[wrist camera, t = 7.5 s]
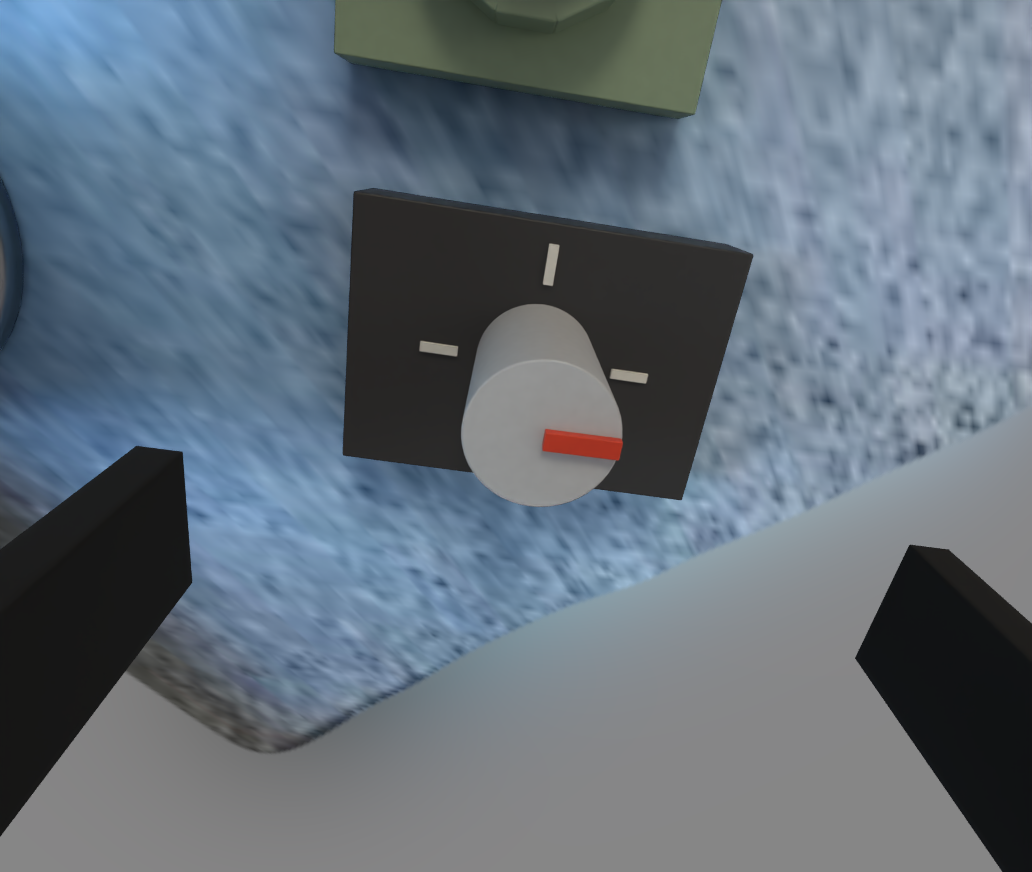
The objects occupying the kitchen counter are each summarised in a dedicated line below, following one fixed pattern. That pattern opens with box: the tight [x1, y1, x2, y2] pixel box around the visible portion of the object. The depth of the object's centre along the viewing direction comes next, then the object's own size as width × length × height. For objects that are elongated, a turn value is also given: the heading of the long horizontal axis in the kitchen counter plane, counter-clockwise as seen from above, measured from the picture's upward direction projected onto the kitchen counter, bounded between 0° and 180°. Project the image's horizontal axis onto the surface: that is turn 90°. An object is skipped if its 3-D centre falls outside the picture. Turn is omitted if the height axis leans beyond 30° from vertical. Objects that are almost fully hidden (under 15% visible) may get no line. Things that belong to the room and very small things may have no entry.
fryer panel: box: [343, 188, 753, 500], centre depth 25 cm, size 14×10×3 cm
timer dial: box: [461, 304, 623, 507], centre depth 20 cm, size 4×4×7 cm
